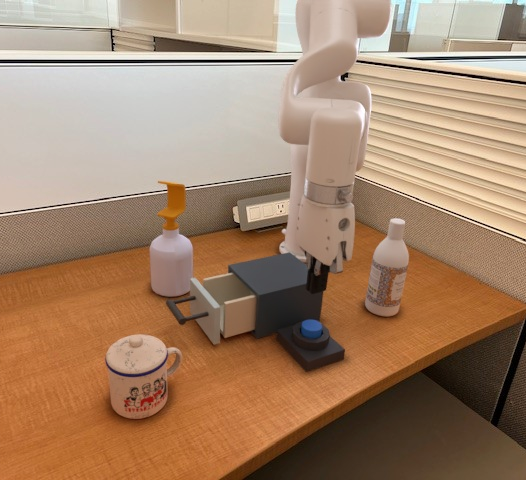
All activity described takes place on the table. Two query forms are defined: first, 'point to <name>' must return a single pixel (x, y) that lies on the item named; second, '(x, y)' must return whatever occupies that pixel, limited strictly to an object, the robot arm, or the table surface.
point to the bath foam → (388, 272)
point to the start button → (311, 329)
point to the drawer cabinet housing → (278, 292)
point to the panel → (310, 347)
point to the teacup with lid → (139, 375)
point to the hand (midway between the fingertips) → (315, 290)
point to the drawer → (219, 306)
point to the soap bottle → (171, 249)
